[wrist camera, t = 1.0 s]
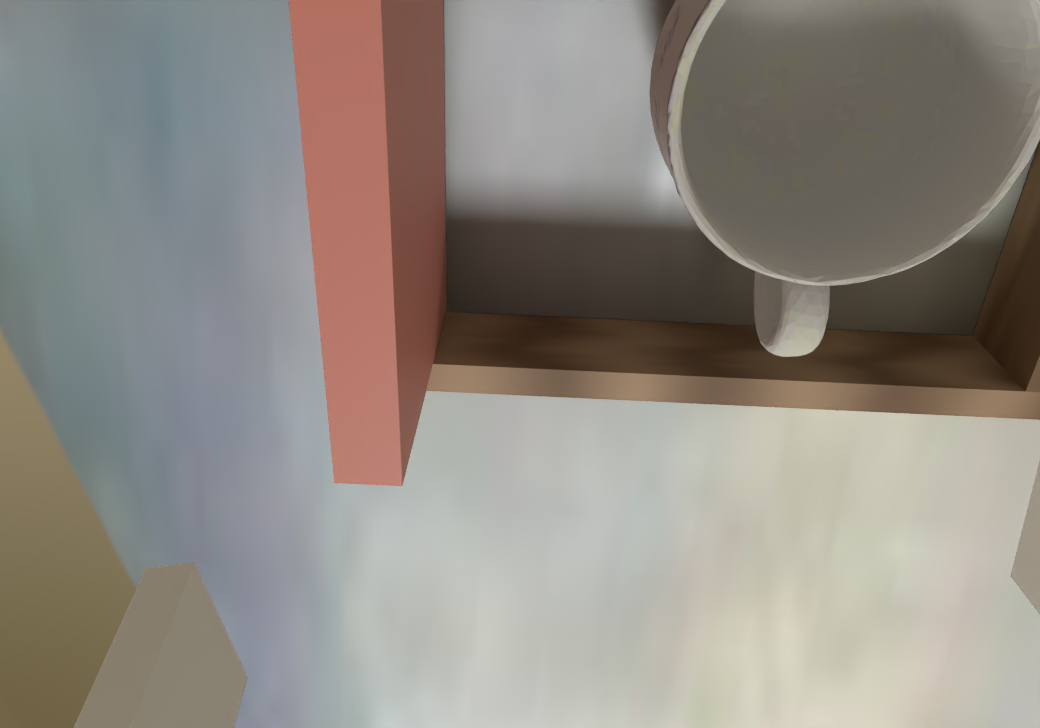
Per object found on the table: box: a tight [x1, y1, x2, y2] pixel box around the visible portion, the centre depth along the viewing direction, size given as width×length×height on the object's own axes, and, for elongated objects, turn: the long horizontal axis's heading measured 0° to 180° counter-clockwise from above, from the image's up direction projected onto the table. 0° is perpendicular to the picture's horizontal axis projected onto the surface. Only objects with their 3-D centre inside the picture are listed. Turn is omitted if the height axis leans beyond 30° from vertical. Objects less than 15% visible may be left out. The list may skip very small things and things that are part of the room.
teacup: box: [650, 0, 1040, 357], centre depth 27 cm, size 14×11×8 cm
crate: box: [426, 141, 1040, 420], centre depth 29 cm, size 25×20×4 cm
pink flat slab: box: [289, 0, 447, 486], centre depth 25 cm, size 2×17×12 cm, turn 178°
